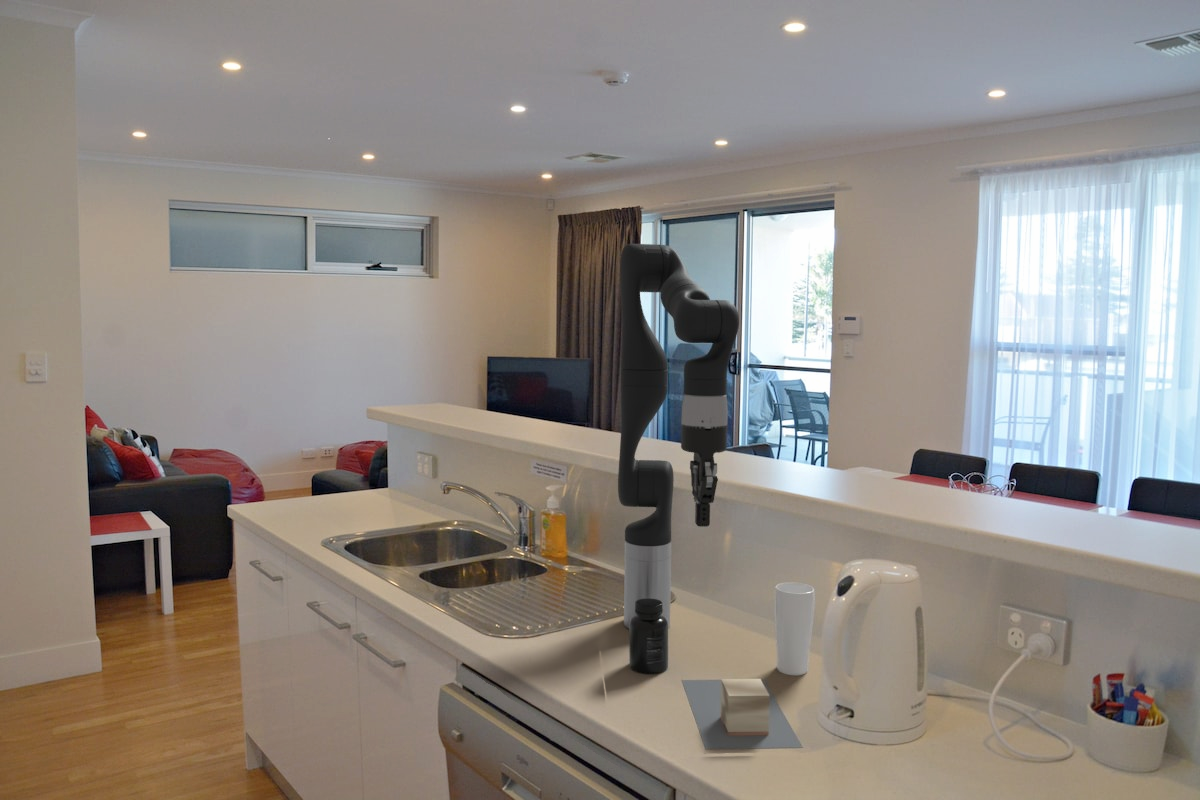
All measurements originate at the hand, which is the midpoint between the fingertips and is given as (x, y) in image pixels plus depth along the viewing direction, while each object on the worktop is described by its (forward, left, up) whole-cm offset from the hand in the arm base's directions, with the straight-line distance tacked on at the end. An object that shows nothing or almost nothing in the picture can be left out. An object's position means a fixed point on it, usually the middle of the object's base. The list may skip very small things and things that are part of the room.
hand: (702, 525), depth 148 cm
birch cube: (+17, +4, -21) cm, 27 cm away
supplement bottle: (-6, -8, -27) cm, 29 cm away
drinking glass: (-4, +17, -27) cm, 32 cm away
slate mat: (+12, +4, -27) cm, 30 cm away
